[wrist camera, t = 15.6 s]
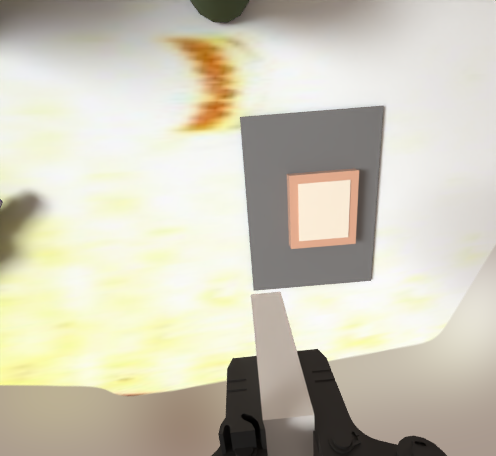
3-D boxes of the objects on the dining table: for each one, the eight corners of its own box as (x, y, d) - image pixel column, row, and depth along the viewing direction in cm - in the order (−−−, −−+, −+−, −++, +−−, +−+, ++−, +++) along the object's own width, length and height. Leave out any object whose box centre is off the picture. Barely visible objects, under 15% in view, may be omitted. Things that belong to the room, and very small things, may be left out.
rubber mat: (240, 117, 32) (240, 117, 31) (381, 106, 32) (383, 105, 31) (253, 288, 39) (253, 290, 38) (369, 279, 39) (370, 280, 39)
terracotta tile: (289, 175, 32) (359, 170, 32) (286, 173, 34) (353, 168, 34) (291, 249, 35) (356, 244, 35) (288, 244, 36) (350, 239, 36)
